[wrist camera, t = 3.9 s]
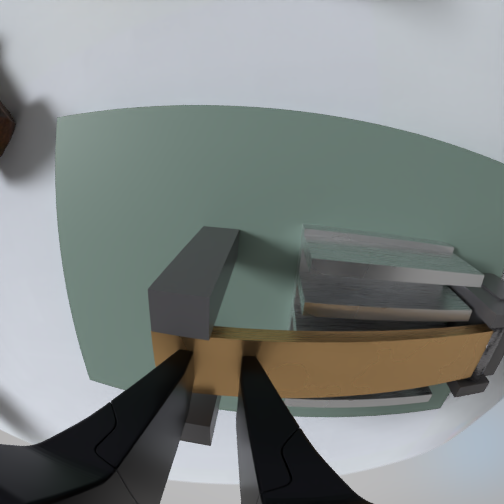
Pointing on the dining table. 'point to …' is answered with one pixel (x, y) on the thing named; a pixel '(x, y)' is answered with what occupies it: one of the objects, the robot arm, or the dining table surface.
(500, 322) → the block
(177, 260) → the lug fork
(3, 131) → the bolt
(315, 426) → the dining table surface
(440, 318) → the heatsink
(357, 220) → the board
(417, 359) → the brown long flat bar
